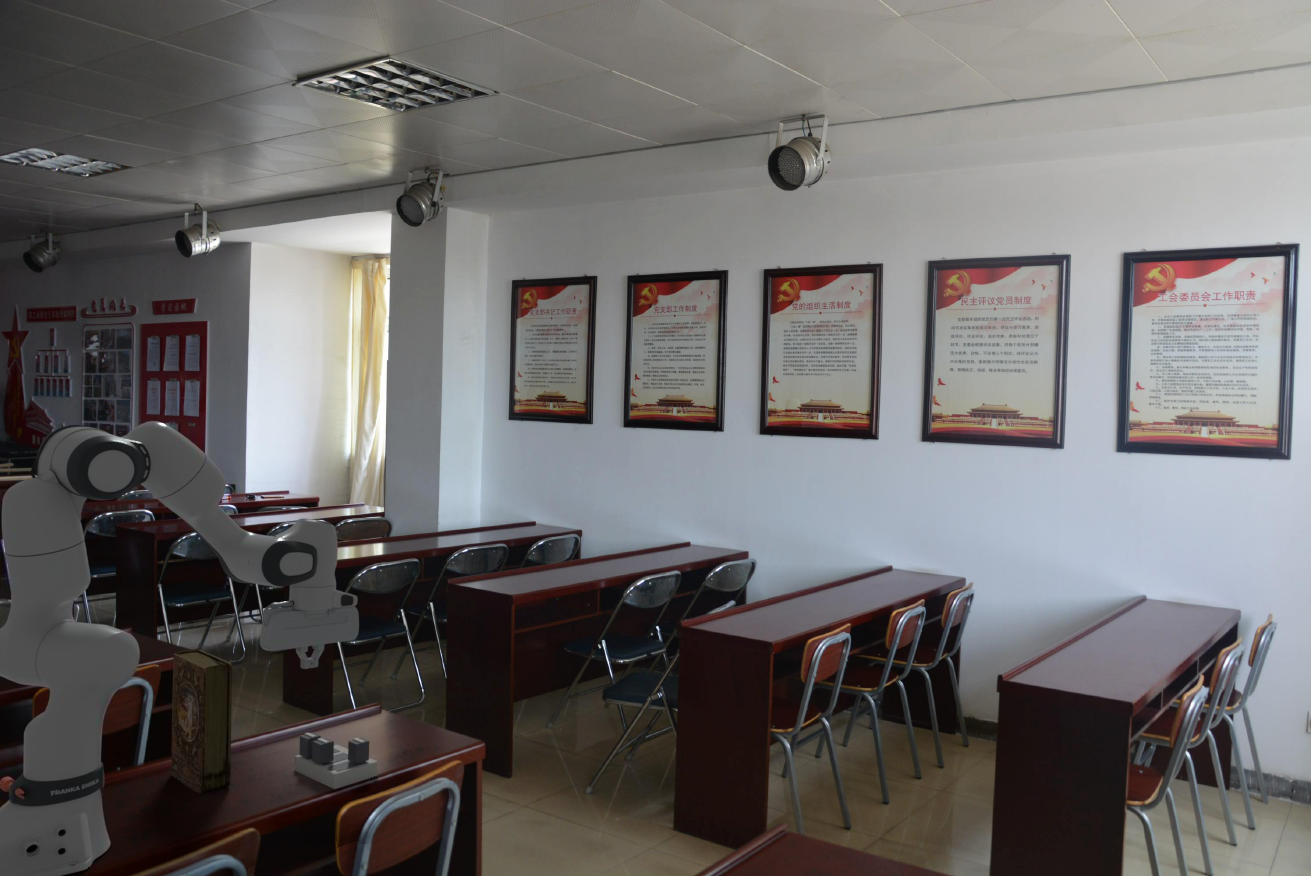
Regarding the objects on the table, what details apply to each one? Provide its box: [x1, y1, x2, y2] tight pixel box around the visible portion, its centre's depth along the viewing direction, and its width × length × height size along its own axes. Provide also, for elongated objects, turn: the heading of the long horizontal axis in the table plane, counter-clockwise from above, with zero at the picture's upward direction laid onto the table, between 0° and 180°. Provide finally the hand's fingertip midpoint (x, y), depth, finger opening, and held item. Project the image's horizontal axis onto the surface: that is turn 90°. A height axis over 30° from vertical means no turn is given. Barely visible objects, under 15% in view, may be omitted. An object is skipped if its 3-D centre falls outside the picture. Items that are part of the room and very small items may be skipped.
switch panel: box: [293, 744, 379, 790], centre depth 198 cm, size 10×15×3 cm, turn 51°
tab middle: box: [312, 737, 335, 764], centre depth 196 cm, size 3×3×4 cm
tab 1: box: [298, 732, 322, 758], centre depth 199 cm, size 3×3×4 cm
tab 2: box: [347, 737, 370, 764], centre depth 197 cm, size 3×3×4 cm
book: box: [170, 649, 233, 795], centre depth 192 cm, size 16×6×25 cm, turn 48°
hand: (309, 667), depth 192 cm, fingers closed
